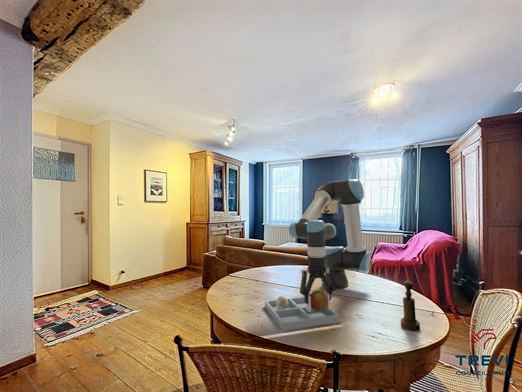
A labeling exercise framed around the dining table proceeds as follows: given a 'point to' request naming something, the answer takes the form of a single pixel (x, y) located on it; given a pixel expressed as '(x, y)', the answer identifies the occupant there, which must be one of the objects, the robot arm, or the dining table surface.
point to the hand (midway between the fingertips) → (318, 309)
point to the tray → (300, 315)
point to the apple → (318, 300)
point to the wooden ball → (282, 303)
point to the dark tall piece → (409, 310)
